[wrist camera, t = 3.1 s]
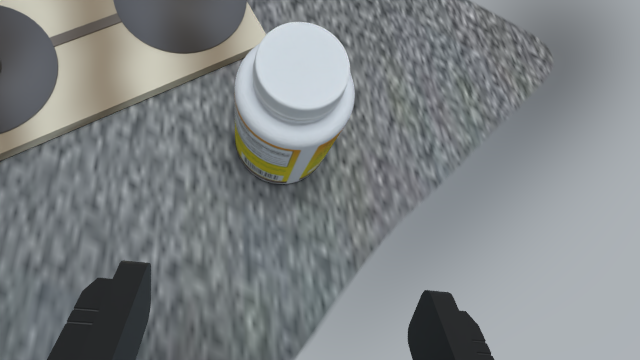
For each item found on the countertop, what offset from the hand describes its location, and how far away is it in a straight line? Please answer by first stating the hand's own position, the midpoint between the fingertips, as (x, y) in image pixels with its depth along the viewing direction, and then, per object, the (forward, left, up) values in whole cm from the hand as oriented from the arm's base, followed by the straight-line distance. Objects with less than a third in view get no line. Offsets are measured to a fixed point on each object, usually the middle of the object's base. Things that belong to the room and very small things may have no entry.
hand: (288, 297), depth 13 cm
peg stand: (-2, +18, -13) cm, 23 cm away
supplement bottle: (+5, +7, -13) cm, 16 cm away
